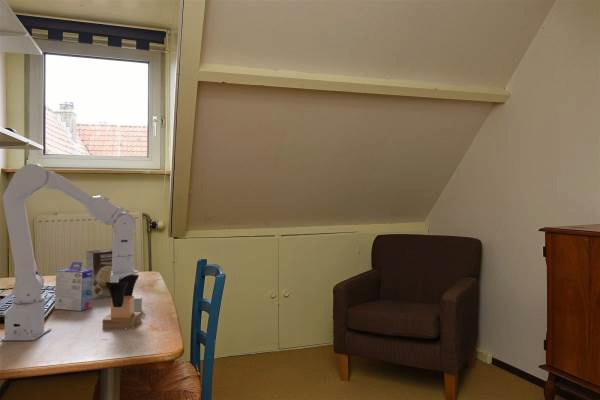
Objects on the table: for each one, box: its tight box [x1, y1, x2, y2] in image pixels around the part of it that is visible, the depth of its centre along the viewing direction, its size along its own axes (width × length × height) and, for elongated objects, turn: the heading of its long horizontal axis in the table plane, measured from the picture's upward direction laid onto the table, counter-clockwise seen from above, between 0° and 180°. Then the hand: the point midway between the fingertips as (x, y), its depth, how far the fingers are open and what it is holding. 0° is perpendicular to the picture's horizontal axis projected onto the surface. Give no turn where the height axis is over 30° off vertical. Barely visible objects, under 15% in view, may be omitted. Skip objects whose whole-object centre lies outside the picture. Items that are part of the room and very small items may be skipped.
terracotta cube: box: [110, 296, 134, 318], centre depth 130 cm, size 5×5×5 cm
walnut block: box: [102, 312, 142, 330], centre depth 130 cm, size 8×8×3 cm
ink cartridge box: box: [54, 261, 93, 312], centre depth 147 cm, size 10×6×14 cm, turn 78°
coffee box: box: [85, 249, 112, 300], centre depth 165 cm, size 9×6×16 cm
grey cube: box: [132, 294, 143, 315], centre depth 143 cm, size 5×5×5 cm
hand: (122, 303), depth 130 cm, fingers open, 7 cm apart
